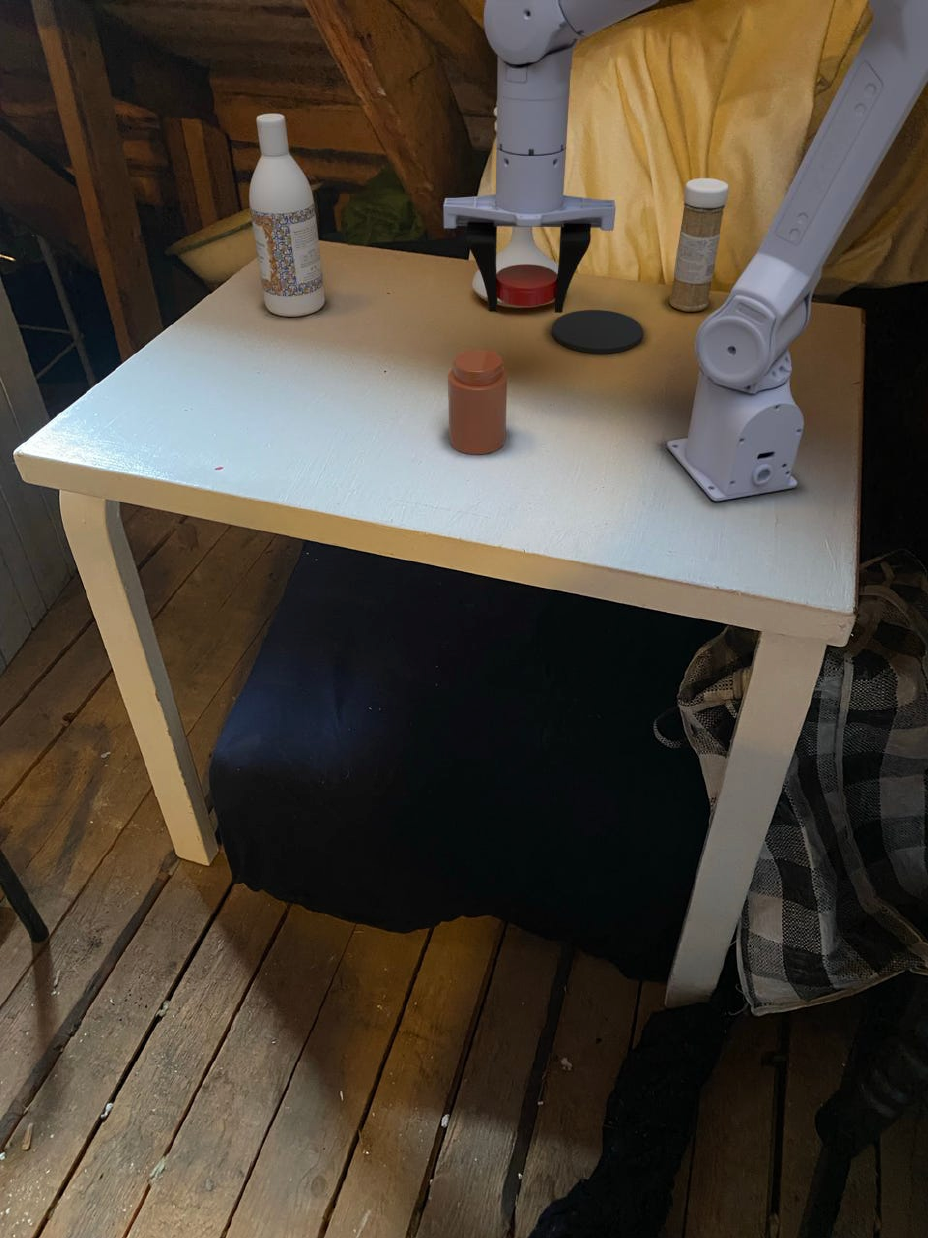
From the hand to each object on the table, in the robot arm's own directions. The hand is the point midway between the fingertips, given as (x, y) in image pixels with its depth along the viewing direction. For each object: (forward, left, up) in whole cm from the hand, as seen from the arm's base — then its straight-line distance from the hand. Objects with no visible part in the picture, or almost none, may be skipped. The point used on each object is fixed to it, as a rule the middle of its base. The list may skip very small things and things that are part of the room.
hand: (525, 307), depth 84 cm
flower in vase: (+23, -8, -10) cm, 26 cm away
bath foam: (+29, +18, -10) cm, 36 cm away
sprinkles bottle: (+16, -26, -10) cm, 32 cm away
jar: (-6, +6, -9) cm, 13 cm away
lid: (0, 0, +3) cm, 3 cm away
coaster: (+12, -13, -9) cm, 20 cm away
